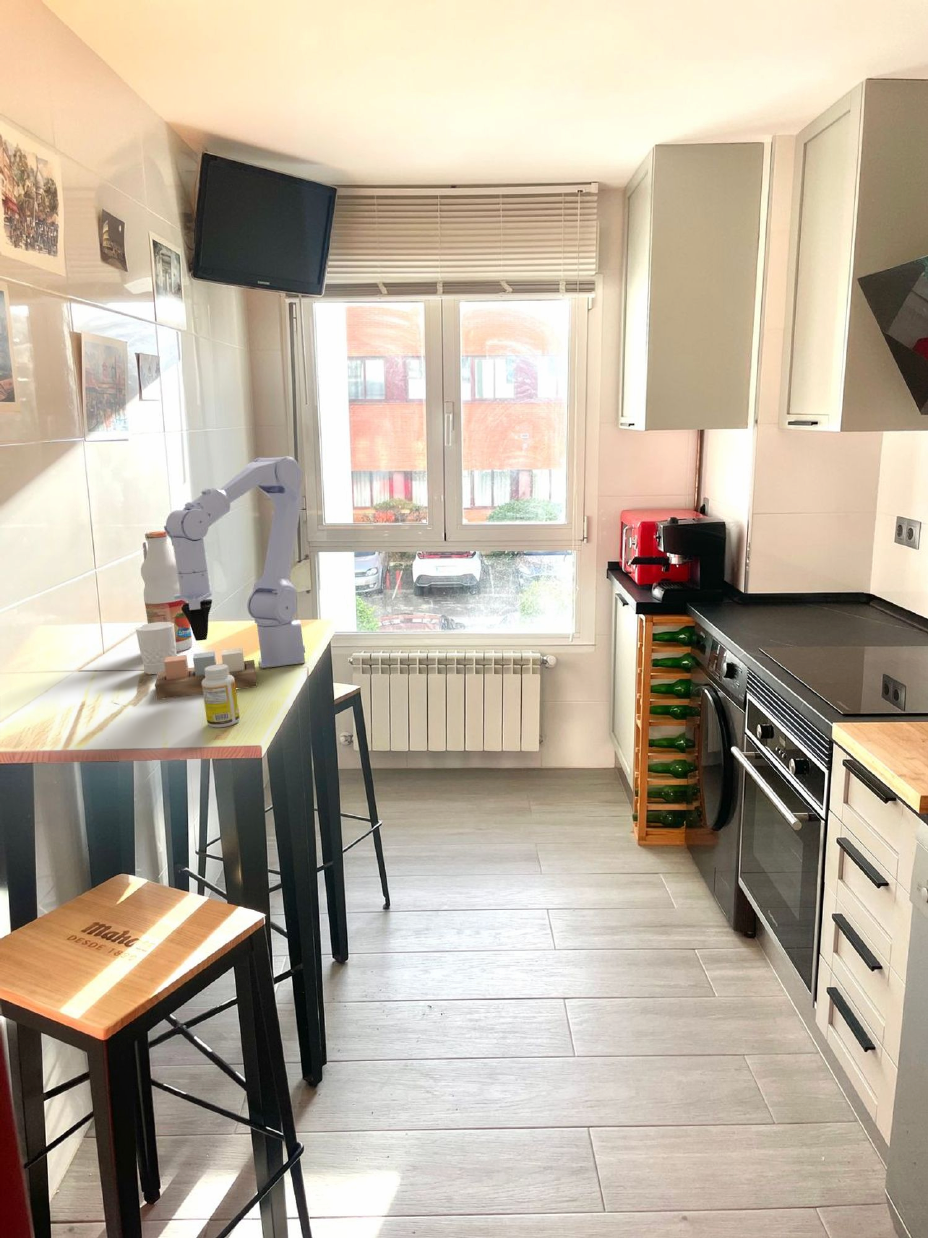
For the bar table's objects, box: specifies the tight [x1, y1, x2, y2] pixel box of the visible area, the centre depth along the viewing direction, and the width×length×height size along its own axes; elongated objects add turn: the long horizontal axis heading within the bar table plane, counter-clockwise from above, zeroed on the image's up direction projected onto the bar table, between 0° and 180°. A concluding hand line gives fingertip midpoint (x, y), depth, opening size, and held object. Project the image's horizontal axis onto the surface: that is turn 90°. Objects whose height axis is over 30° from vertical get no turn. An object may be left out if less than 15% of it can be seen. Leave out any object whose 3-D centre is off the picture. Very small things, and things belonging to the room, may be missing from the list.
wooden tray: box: [154, 659, 257, 700], centre depth 184 cm, size 19×10×3 cm, turn 103°
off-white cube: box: [221, 647, 245, 672], centre depth 184 cm, size 4×4×4 cm
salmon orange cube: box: [164, 654, 189, 680], centre depth 182 cm, size 4×4×4 cm
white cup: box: [135, 622, 178, 675], centre depth 198 cm, size 8×8×10 cm
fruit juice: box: [140, 530, 193, 653], centre depth 215 cm, size 9×9×28 cm
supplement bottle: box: [202, 663, 240, 728], centre depth 159 cm, size 6×6×10 cm
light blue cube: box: [192, 651, 217, 676], centre depth 183 cm, size 4×4×4 cm
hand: (201, 638), depth 182 cm, fingers closed
